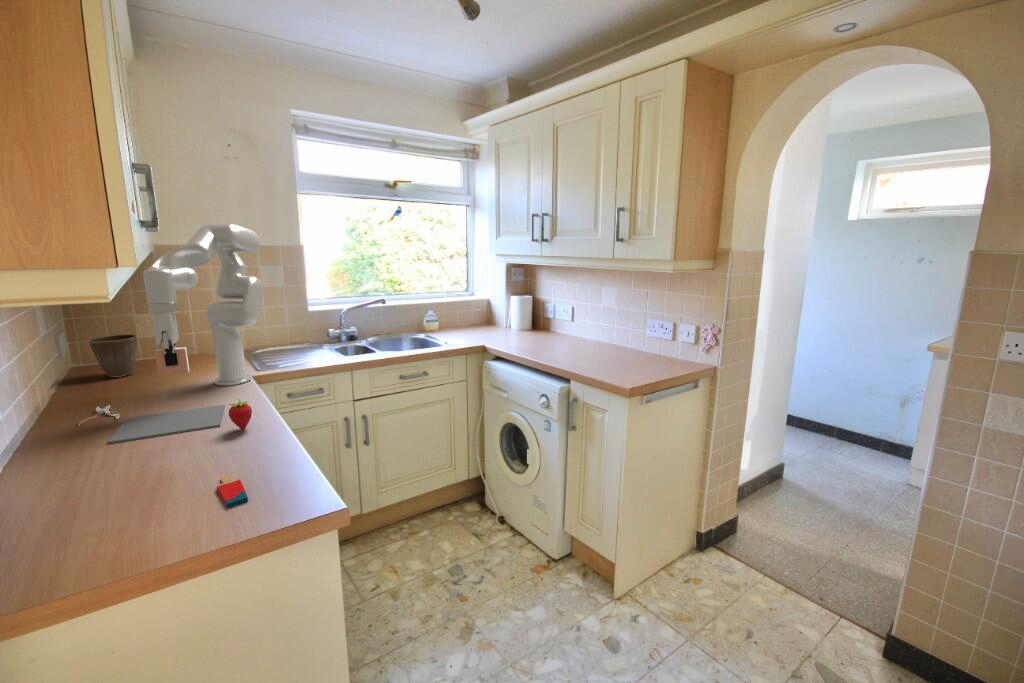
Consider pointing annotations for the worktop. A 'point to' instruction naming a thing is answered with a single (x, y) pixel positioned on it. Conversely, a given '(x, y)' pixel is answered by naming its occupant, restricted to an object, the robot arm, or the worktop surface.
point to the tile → (165, 370)
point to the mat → (168, 423)
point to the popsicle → (232, 491)
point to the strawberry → (240, 414)
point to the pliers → (106, 411)
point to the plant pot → (115, 353)
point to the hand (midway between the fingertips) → (172, 364)
